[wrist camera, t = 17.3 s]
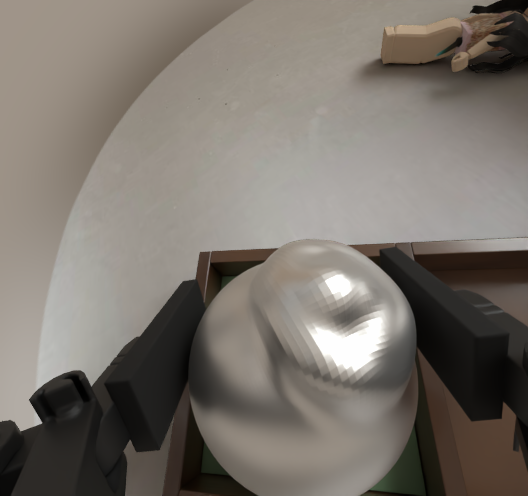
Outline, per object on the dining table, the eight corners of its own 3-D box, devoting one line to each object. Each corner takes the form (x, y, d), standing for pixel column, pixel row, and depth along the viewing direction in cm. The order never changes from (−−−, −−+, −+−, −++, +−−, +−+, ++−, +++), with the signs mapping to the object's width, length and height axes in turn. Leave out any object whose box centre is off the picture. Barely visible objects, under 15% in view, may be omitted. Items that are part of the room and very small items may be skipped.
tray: (188, 486, 14) (159, 511, 12) (215, 269, 20) (199, 251, 17) (780, 554, 10) (949, 617, 8) (609, 256, 16) (671, 230, 13)
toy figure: (388, 99, 25) (593, 68, 21) (402, 14, 20) (676, -46, 16) (377, 63, 28) (550, 31, 25) (387, -17, 23) (605, -71, 20)
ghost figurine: (435, 408, 13) (666, 461, 5) (264, 500, 13) (149, 753, 4) (337, 261, 18) (358, 139, 9) (206, 326, 17) (89, 268, 8)
